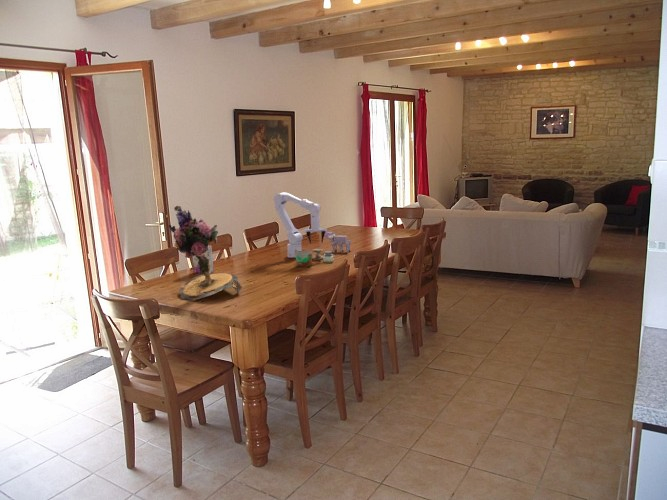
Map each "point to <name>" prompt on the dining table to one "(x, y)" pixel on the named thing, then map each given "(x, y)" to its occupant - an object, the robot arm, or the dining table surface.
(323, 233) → the robot arm
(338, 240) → the toy sheep
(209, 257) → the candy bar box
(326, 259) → the pale green flanged block
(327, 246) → the dining table surface
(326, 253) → the gray metal block
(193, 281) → the bouquet
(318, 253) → the tan rounded lump
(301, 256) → the food container
